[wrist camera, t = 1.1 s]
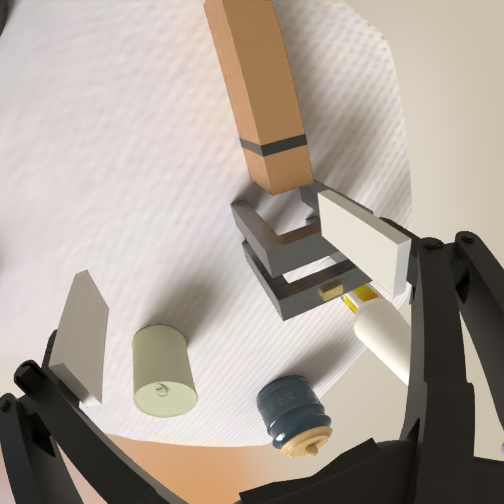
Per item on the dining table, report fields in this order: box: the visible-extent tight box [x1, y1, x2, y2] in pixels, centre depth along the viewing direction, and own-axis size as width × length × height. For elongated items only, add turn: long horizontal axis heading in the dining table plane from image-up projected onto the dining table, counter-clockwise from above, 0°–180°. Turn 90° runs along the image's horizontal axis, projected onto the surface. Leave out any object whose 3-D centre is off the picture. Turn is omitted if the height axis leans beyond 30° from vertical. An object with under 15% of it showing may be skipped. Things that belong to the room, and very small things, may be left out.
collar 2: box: [242, 216, 373, 321], centre depth 38 cm, size 3×12×15 cm, turn 104°
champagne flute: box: [315, 258, 411, 385], centre depth 40 cm, size 7×7×24 cm
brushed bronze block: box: [203, 0, 314, 196], centre depth 29 cm, size 24×5×8 cm, turn 14°
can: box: [132, 325, 198, 418], centre depth 41 cm, size 9×9×12 cm
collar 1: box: [231, 179, 373, 278], centre depth 35 cm, size 3×12×14 cm, turn 104°
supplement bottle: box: [340, 283, 386, 314], centre depth 49 cm, size 6×6×10 cm
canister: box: [257, 376, 332, 457], centre depth 55 cm, size 13×13×18 cm
